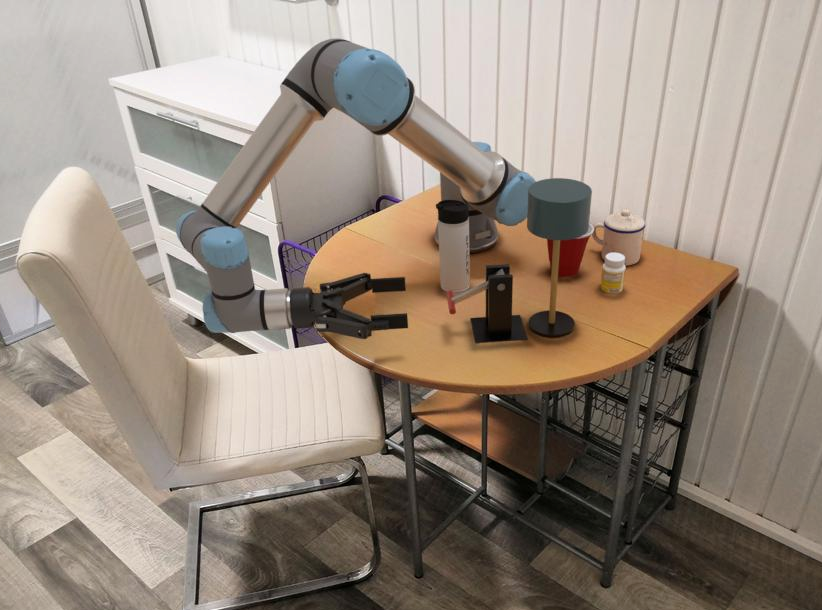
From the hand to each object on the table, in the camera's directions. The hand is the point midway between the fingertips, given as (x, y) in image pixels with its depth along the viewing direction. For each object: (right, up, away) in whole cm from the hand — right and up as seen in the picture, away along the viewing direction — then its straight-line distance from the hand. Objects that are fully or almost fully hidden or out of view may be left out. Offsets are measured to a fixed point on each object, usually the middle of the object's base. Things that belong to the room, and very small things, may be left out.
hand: (406, 301), depth 138 cm
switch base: (+17, -6, +6) cm, 19 cm away
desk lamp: (+28, -5, +7) cm, 29 cm away
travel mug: (+9, +4, +20) cm, 23 cm away
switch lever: (+14, +1, +1) cm, 14 cm away
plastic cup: (+33, +8, +25) cm, 43 cm away
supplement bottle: (+42, +3, +19) cm, 46 cm away
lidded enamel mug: (+45, +13, +32) cm, 57 cm away
